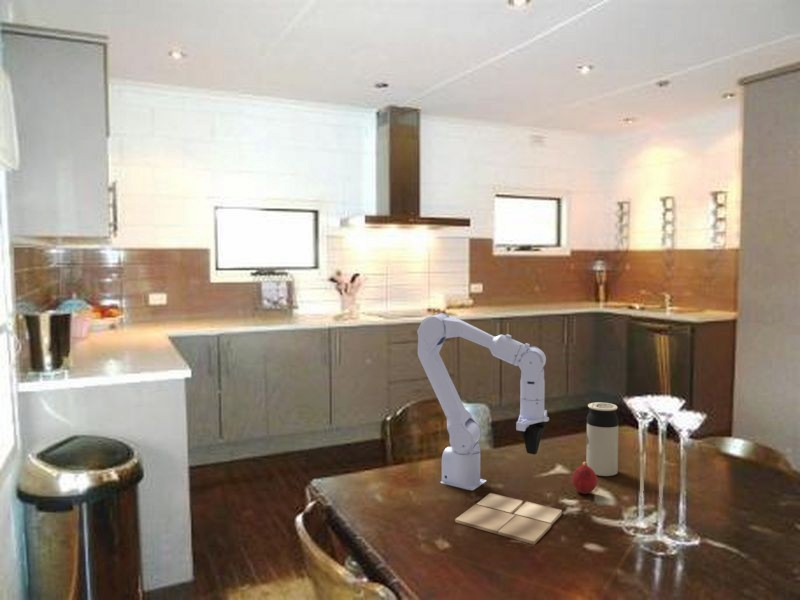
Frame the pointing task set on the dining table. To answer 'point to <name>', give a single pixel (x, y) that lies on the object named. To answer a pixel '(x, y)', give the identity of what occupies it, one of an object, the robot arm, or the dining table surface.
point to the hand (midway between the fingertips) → (532, 453)
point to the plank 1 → (500, 503)
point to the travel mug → (602, 439)
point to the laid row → (504, 524)
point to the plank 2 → (539, 512)
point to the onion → (584, 479)
